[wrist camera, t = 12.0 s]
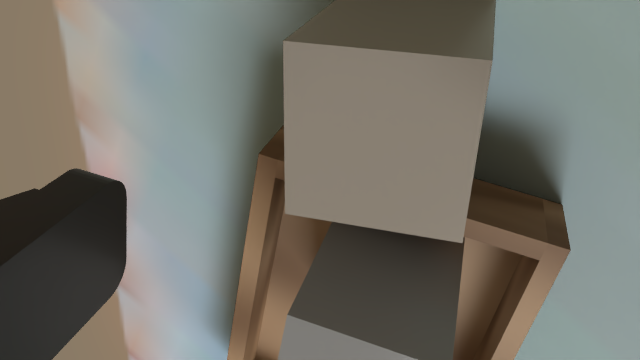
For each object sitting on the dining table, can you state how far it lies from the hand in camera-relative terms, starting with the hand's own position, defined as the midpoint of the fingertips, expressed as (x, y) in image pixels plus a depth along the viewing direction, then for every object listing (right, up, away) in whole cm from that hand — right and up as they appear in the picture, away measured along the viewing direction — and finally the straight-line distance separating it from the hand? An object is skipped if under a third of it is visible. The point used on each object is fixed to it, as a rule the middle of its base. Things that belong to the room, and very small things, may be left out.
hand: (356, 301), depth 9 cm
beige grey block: (+2, +5, +8) cm, 10 cm away
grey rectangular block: (+2, -1, +11) cm, 11 cm away
